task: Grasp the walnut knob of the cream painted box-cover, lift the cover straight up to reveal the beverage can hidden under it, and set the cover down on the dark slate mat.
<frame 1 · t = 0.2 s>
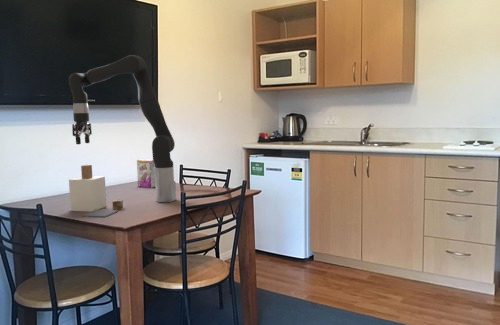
hand: (83, 143, 241), 29 cm above the table, tool pointing down, fingers open, 8 cm apart
candy bar box: (147, 187, 280), on the table
walnut block: (118, 208, 218), on the table
beverage can: (89, 209, 219), on the table
cover: (88, 208, 219), on the table
mat: (100, 214, 207), on the table
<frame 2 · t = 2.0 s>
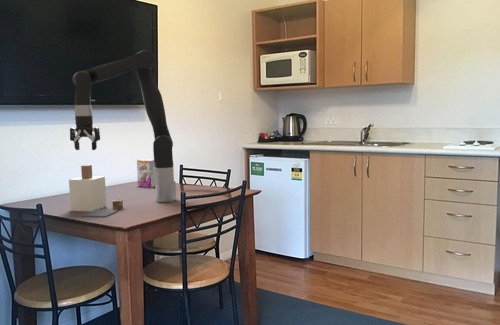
hand: (85, 149, 216), 28 cm above the table, tool pointing down, fingers open, 8 cm apart
nothing on the table moved.
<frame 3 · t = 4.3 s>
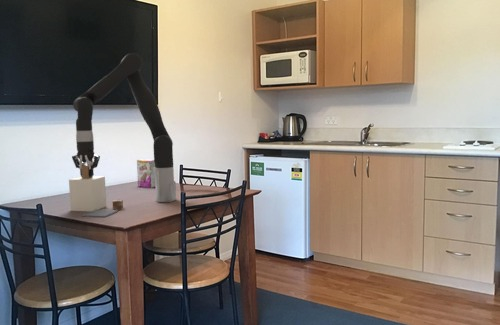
hand: (87, 176, 217), 15 cm above the table, tool pointing down, fingers closed on cover, 3 cm apart
cover: (89, 208, 219), on the table, touching gripper
everything else where it was.
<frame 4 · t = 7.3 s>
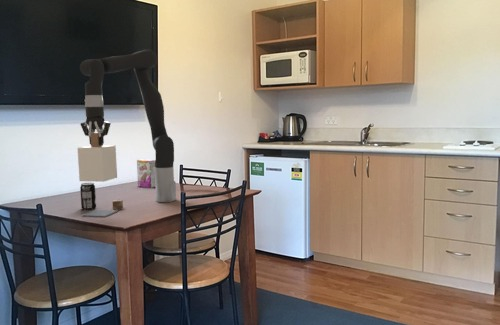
hand: (96, 145, 203), 31 cm above the table, tool pointing down, fingers closed on cover, 3 cm apart
cover: (98, 179, 205), point 16 cm above the table, touching gripper
everything else where it was.
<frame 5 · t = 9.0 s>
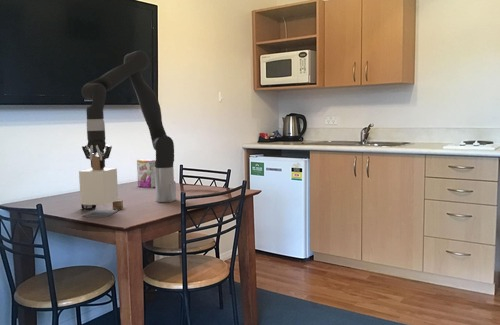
hand: (98, 168, 205), 21 cm above the table, tool pointing down, fingers closed on cover, 3 cm apart
cover: (99, 202, 206), point 5 cm above the table, touching gripper
everything else where it was.
when the fingers open (17 cm above the table, at t = 10.5 s): cover drops 1 cm, resting on mat.
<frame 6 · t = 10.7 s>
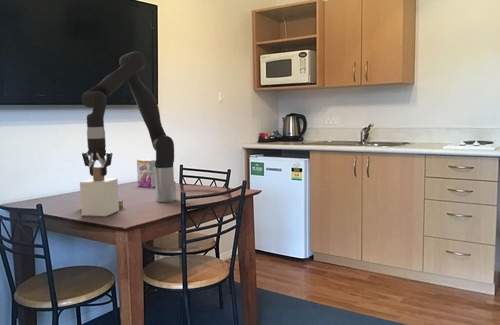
hand: (98, 175, 205), 17 cm above the table, tool pointing down, fingers open, 5 cm apart
cover: (100, 212, 207), point 1 cm above the table, touching mat
everything else where it was.
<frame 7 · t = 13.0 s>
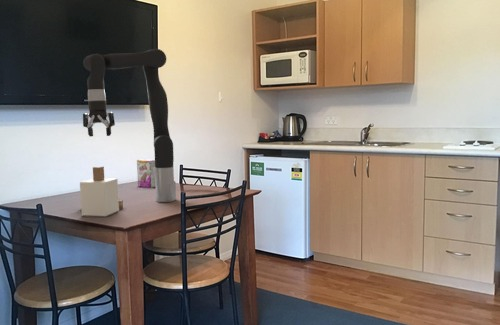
hand: (99, 136, 209), 35 cm above the table, tool pointing down, fingers open, 8 cm apart
nothing on the table moved.
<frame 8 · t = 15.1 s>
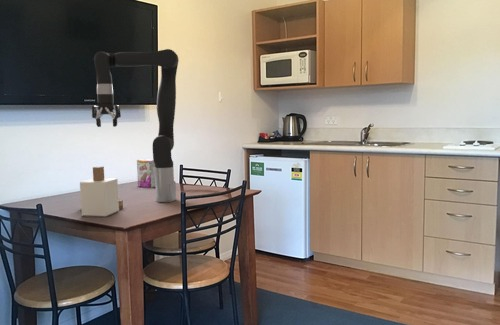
hand: (106, 126, 229), 38 cm above the table, tool pointing down, fingers open, 8 cm apart
nothing on the table moved.
at the end: cover inside the target area on the mat (0.1 cm from its centre), point 0.6 cm above the mat's base; cover tilted 0°; cover moved 15.6 cm from its start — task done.
